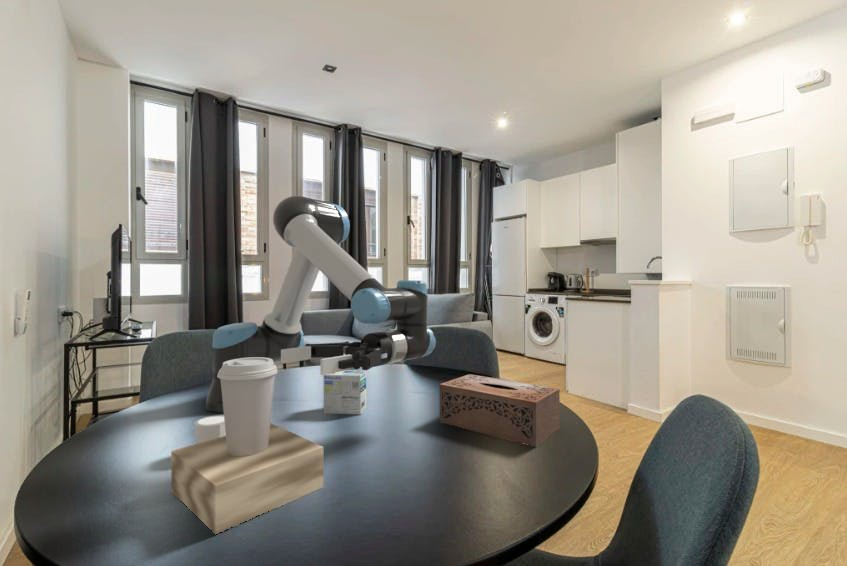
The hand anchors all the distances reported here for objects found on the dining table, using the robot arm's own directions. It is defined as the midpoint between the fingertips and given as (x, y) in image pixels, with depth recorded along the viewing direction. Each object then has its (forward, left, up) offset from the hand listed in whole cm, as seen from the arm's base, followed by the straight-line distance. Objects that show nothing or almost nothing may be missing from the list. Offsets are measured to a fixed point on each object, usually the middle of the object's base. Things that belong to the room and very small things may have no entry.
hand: (300, 361), depth 77 cm
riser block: (-1, -10, -21) cm, 23 cm away
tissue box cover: (+15, +46, -21) cm, 53 cm away
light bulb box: (-23, +28, -21) cm, 42 cm away
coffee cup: (-1, -10, -14) cm, 17 cm away
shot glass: (-21, -8, -21) cm, 30 cm away
